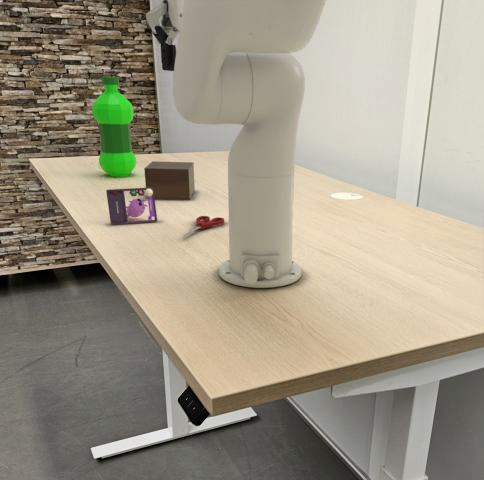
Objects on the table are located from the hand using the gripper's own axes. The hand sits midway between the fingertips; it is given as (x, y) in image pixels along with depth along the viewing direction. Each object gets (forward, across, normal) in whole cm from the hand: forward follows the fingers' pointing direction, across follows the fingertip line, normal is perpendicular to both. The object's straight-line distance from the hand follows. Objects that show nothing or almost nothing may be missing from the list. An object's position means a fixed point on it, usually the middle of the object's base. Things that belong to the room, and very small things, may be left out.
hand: (191, 70), depth 102 cm
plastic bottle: (+29, +19, +55) cm, 65 cm away
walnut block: (+29, +14, +26) cm, 41 cm away
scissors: (+28, -2, -3) cm, 28 cm away
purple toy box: (+28, -7, +12) cm, 31 cm away
